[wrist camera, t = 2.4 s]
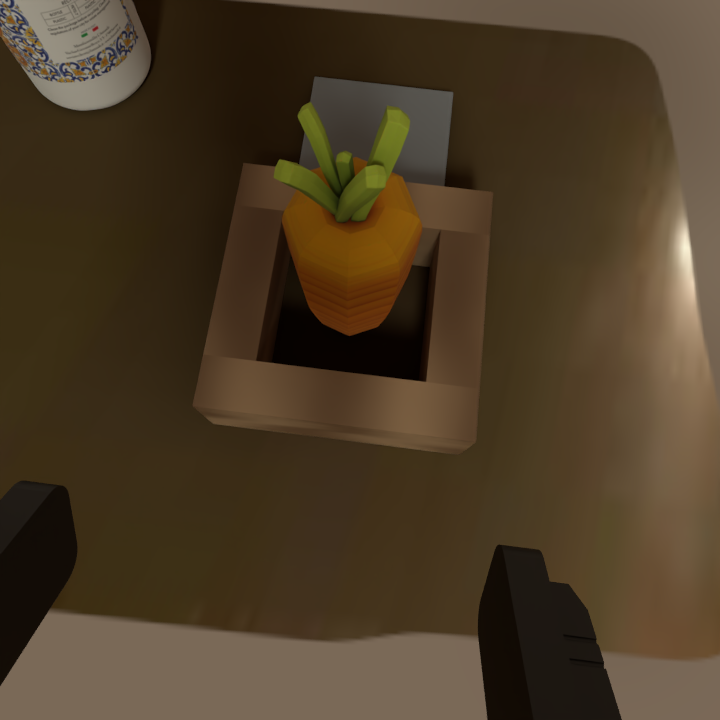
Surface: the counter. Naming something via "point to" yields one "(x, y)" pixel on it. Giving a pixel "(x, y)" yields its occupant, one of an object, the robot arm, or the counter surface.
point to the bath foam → (78, 49)
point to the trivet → (363, 117)
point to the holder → (335, 388)
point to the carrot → (351, 225)
